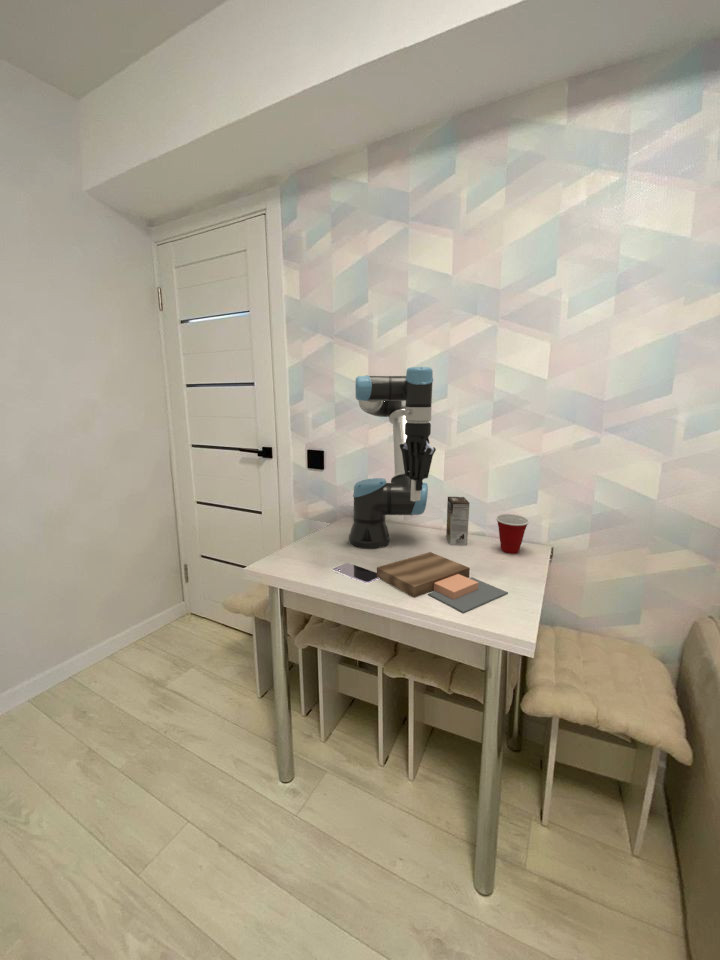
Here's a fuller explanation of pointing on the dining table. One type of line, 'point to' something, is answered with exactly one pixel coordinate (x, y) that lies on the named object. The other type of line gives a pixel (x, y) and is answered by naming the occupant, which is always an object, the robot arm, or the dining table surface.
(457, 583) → the coral block
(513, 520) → the plastic cup
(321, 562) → the dining table surface
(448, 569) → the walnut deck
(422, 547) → the dining table surface
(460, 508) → the coffee box
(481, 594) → the rubber mat
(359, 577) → the mobile phone
